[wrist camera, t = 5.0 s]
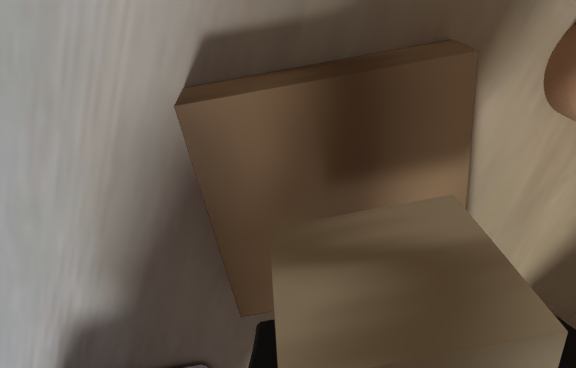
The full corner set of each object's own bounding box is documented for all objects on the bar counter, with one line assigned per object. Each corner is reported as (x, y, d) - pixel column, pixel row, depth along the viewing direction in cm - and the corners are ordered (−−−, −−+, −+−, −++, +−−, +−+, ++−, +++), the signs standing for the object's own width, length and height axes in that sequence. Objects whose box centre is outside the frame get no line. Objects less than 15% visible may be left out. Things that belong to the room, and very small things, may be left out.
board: (241, 285, 20) (240, 317, 18) (182, 88, 15) (173, 106, 13) (441, 249, 20) (460, 278, 18) (451, 39, 15) (478, 50, 13)
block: (297, 347, 13) (316, 510, 9) (269, 228, 11) (278, 383, 7) (447, 321, 13) (528, 474, 9) (452, 194, 11) (568, 331, 7)
